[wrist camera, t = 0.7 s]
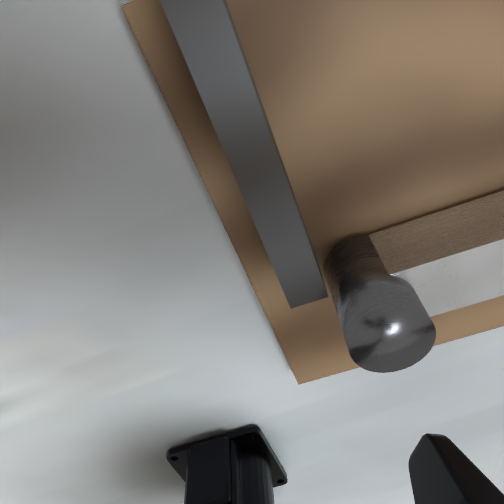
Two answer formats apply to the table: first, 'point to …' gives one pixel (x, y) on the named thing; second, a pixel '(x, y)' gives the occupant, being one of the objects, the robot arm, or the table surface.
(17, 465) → the table surface
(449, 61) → the board
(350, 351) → the bar
